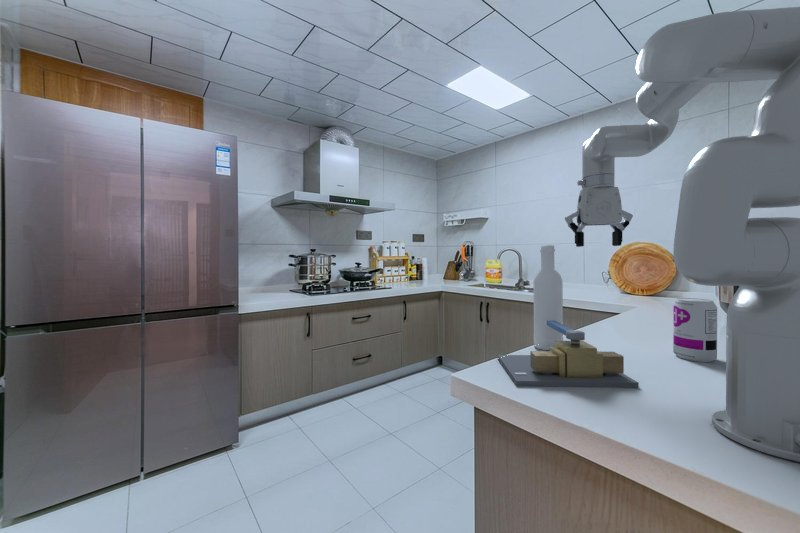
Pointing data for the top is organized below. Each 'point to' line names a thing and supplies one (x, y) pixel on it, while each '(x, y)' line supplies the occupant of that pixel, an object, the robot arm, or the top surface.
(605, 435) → the top surface
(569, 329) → the lever
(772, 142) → the robot arm
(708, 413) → the top surface
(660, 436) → the top surface
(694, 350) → the supplement can
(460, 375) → the top surface
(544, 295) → the bottle
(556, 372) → the valve
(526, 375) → the base plate
